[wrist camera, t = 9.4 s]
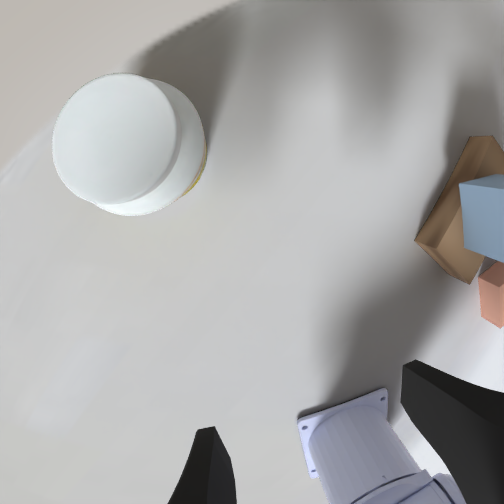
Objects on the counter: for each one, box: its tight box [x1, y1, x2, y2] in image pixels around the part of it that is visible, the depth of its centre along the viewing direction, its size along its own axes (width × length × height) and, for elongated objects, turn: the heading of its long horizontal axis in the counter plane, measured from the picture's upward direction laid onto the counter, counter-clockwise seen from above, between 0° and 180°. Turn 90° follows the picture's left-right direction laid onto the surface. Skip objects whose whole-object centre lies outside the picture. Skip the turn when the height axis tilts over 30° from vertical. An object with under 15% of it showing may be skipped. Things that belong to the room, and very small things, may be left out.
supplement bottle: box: [52, 73, 207, 216], centre depth 13 cm, size 5×5×10 cm
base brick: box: [414, 136, 504, 285], centre depth 20 cm, size 10×5×3 cm, turn 146°
